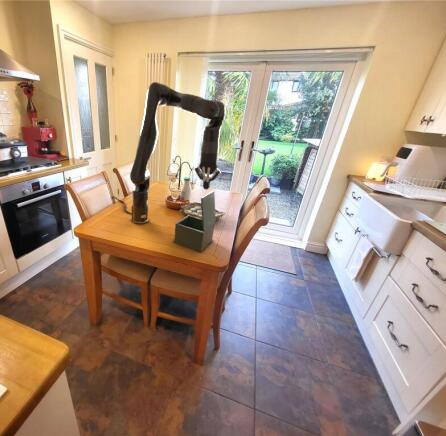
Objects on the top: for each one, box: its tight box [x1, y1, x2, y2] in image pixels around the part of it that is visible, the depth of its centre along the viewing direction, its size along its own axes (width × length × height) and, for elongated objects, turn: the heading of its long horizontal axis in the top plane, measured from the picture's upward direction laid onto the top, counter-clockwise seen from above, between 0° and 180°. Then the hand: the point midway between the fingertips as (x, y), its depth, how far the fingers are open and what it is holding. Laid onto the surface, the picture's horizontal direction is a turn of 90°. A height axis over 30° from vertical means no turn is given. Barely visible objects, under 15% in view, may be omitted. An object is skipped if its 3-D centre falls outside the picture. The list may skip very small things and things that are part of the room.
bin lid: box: [200, 190, 216, 232], centre depth 113 cm, size 17×14×1 cm
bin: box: [173, 215, 216, 253], centre depth 122 cm, size 16×14×11 cm
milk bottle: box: [179, 176, 192, 203], centre depth 168 cm, size 8×8×20 cm
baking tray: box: [179, 201, 227, 221], centre depth 154 cm, size 30×22×5 cm
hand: (206, 188), depth 110 cm, fingers closed
